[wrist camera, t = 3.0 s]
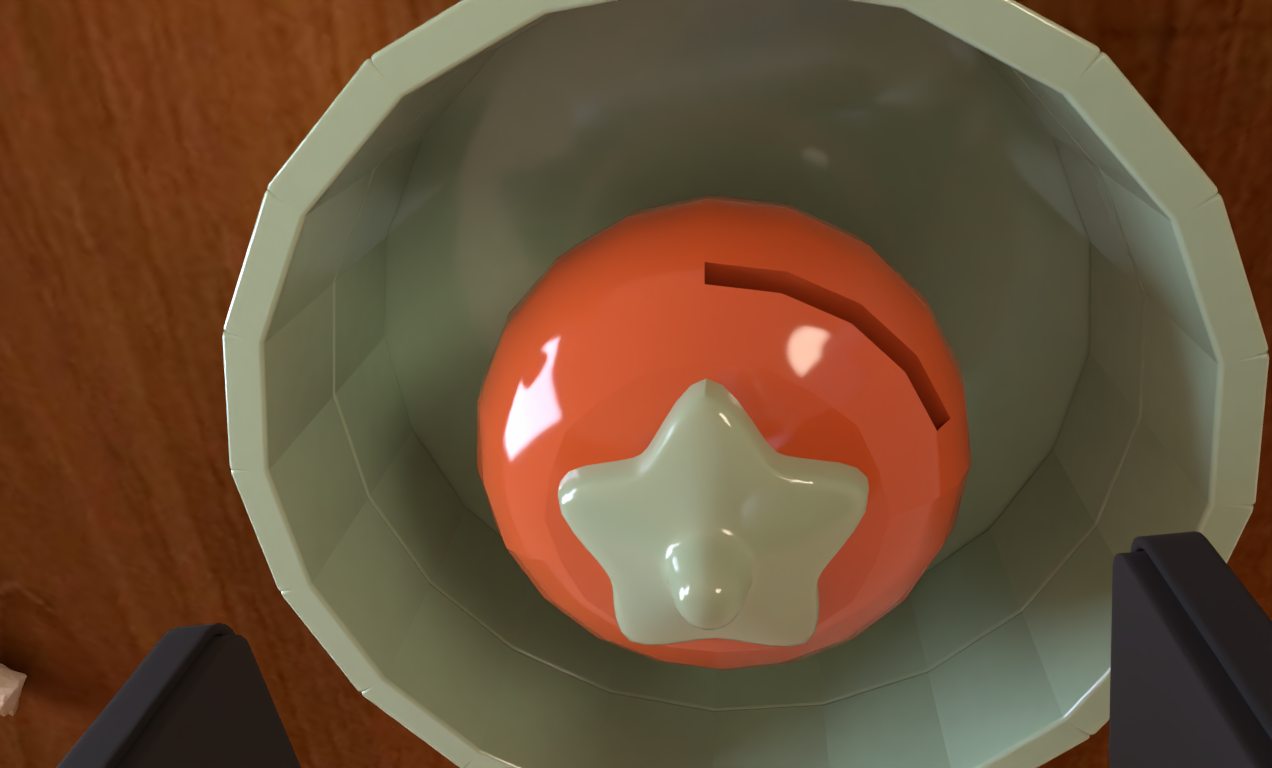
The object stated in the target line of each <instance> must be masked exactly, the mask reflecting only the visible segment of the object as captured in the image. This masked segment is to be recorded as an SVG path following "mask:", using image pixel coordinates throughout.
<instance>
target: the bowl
mask: <svg viewBox="0 0 1272 768" xmlns="http://www.w3.org/2000/svg"><path fill="white" fill-rule="evenodd" d="M267 188H268V189H267V190H266V192H265V194H264V197H263V200H262V203H261V207H260V210H259V213H258V216H257V220H256V223H255V226H254V229H253V233H252V236H251V239H250V242H249V246H248V249H247V252H246V256H245V259H244V262H243V265H242V269H241V272H240V275H239V278H238V282H237V285H236V288H235V291H234V295H233V298H232V301H231V304H230V308H229V311H228V314H227V317H226V321H225V324H224V332H223V335H222V338H223V355H224V373H225V391H226V408H227V426H228V443H229V461H230V468H231V469H232V471H231V473H232V476H233V478H234V481H235V483H236V486H237V488H238V491H239V493H240V496H241V498H242V501H243V503H244V506H245V508H246V511H247V513H248V516H249V518H250V521H251V523H252V526H253V528H254V531H255V533H256V536H257V538H258V541H259V543H260V546H261V548H262V551H263V553H264V556H265V558H266V561H267V563H268V565H269V568H270V570H271V573H272V575H273V578H274V580H275V583H276V585H277V588H278V590H279V591H282V592H281V594H282V596H283V597H284V598H285V600H286V601H287V602H288V604H289V605H290V606H291V607H292V609H293V610H294V611H295V612H296V614H297V615H298V616H299V617H300V619H301V620H302V621H303V622H304V624H305V625H306V626H307V627H308V629H309V630H310V631H311V632H312V634H313V635H314V636H315V637H316V639H317V640H318V641H319V642H320V644H321V645H322V646H323V647H324V649H325V650H326V651H327V653H328V654H329V655H330V656H331V658H332V659H333V660H334V661H335V663H336V664H337V665H338V666H339V668H340V669H341V670H342V671H343V673H344V674H345V675H346V676H347V678H348V679H349V680H350V681H351V683H352V684H353V685H354V686H355V688H356V689H357V690H358V691H360V692H362V695H363V696H364V697H365V698H367V699H368V700H370V701H371V702H372V703H374V704H375V705H376V706H378V707H379V708H380V709H382V710H383V711H384V712H386V713H387V714H388V715H390V716H391V717H392V718H394V719H395V720H396V721H398V722H399V723H400V724H402V725H403V726H404V727H406V728H407V729H408V730H410V731H411V732H412V733H414V734H415V735H416V736H418V737H419V738H421V739H422V740H423V741H425V742H426V743H427V744H429V745H430V746H431V747H433V748H434V749H435V750H437V751H438V752H439V753H441V754H442V755H443V756H445V757H446V758H447V759H449V760H450V761H451V762H453V763H454V764H455V765H457V766H458V767H459V768H1037V767H1039V766H1041V765H1043V764H1045V763H1046V762H1048V761H1050V760H1052V759H1053V758H1055V757H1057V756H1059V755H1061V754H1062V753H1064V752H1066V751H1068V750H1069V749H1071V748H1073V747H1075V746H1077V745H1078V744H1080V743H1082V742H1084V741H1085V740H1087V739H1088V738H1089V737H1090V735H1093V734H1095V733H1096V732H1097V731H1098V730H1099V729H1100V728H1101V727H1102V726H1103V725H1104V724H1105V723H1106V722H1107V721H1108V720H1109V718H1110V671H1111V623H1112V576H1113V560H1114V557H1115V555H1116V554H1118V553H1128V552H1131V545H1132V543H1133V540H1134V539H1135V538H1136V537H1139V536H1150V535H1160V534H1171V533H1181V532H1192V531H1197V532H1200V533H1202V534H1203V535H1204V536H1205V537H1206V538H1207V539H1208V540H1209V542H1210V543H1211V544H1212V546H1213V547H1214V548H1215V549H1216V551H1217V552H1218V553H1219V555H1220V556H1221V557H1222V558H1223V560H1224V561H1225V562H1226V564H1227V562H1228V560H1229V558H1230V556H1231V554H1232V552H1233V550H1234V548H1235V546H1236V544H1237V542H1238V540H1239V538H1240V536H1241V534H1242V532H1243V530H1244V528H1245V526H1246V524H1247V522H1248V520H1249V518H1250V516H1251V514H1252V512H1253V504H1255V502H1256V493H1257V482H1258V472H1259V461H1260V450H1261V440H1262V429H1263V418H1264V408H1265V397H1266V387H1267V376H1268V365H1269V355H1268V352H1267V351H1268V344H1267V341H1266V337H1265V334H1264V331H1263V328H1262V324H1261V321H1260V318H1259V315H1258V311H1257V308H1256V305H1255V302H1254V298H1253V295H1252V292H1251V289H1250V285H1249V282H1248V279H1247V276H1246V272H1245V269H1244V266H1243V263H1242V259H1241V256H1240V253H1239V250H1238V246H1237V243H1236V240H1235V237H1234V233H1233V230H1232V227H1231V224H1230V220H1229V217H1228V214H1227V211H1226V207H1225V204H1224V201H1223V198H1222V196H1221V195H1220V194H1219V193H1218V190H1217V186H1216V185H1215V184H1214V182H1213V181H1212V180H1211V179H1210V178H1209V176H1208V175H1207V174H1206V173H1205V172H1204V170H1203V169H1202V168H1201V167H1200V166H1199V164H1198V163H1197V162H1196V161H1195V160H1194V158H1193V157H1192V156H1191V155H1190V154H1189V152H1188V151H1187V150H1186V149H1185V148H1184V146H1183V145H1182V144H1181V143H1180V142H1179V140H1178V139H1177V138H1176V137H1175V135H1174V134H1173V133H1172V132H1171V131H1170V129H1169V128H1168V127H1167V126H1166V125H1165V123H1164V122H1163V121H1162V120H1161V119H1160V117H1159V116H1158V115H1157V114H1156V113H1155V111H1154V110H1153V109H1152V108H1151V107H1150V105H1149V104H1148V103H1147V102H1146V101H1145V99H1144V98H1143V97H1142V96H1141V94H1140V93H1139V92H1138V91H1137V90H1136V88H1135V87H1134V86H1133V85H1132V84H1131V82H1130V81H1129V80H1128V79H1127V78H1126V76H1125V75H1124V74H1123V73H1122V72H1121V70H1120V69H1119V68H1118V67H1117V66H1116V64H1115V63H1114V62H1113V61H1112V60H1111V58H1110V57H1109V56H1108V55H1107V54H1106V53H1104V52H1101V51H1100V49H1099V47H1098V46H1097V45H1095V44H1093V43H1091V42H1089V41H1087V40H1086V39H1084V38H1082V37H1080V36H1078V35H1077V34H1075V33H1073V32H1071V31H1069V30H1068V29H1066V28H1064V27H1062V26H1060V25H1058V24H1057V23H1055V22H1053V21H1051V20H1049V19H1048V18H1046V17H1044V16H1042V15H1040V14H1038V13H1037V12H1035V11H1033V10H1031V9H1029V8H1028V7H1026V6H1024V5H1022V4H1020V3H1019V2H1017V1H1015V0H461V1H459V2H458V3H456V4H454V5H453V6H451V7H449V8H448V9H446V10H444V11H443V12H441V13H440V14H438V15H436V16H435V17H433V18H431V19H430V20H428V21H426V22H425V23H423V24H421V25H420V26H418V27H416V28H415V29H413V30H412V31H410V32H408V33H407V34H405V35H403V36H402V37H400V38H398V39H397V40H395V41H393V42H392V43H390V44H388V45H387V46H385V47H384V48H382V49H380V50H379V51H377V52H375V53H374V54H373V55H372V57H371V58H369V59H367V60H365V61H364V63H363V64H362V65H361V66H360V68H359V69H358V70H357V72H356V73H355V74H354V75H353V77H352V78H351V79H350V81H349V82H348V83H347V84H346V86H345V87H344V88H343V89H342V91H341V92H340V93H339V95H338V96H337V97H336V98H335V100H334V101H333V102H332V104H331V105H330V106H329V107H328V109H327V110H326V111H325V112H324V114H323V115H322V116H321V118H320V119H319V120H318V121H317V123H316V124H315V125H314V127H313V128H312V129H311V130H310V132H309V133H308V134H307V135H306V137H305V138H304V139H303V141H302V142H301V143H300V144H299V146H298V147H297V148H296V150H295V151H294V152H293V153H292V155H291V156H290V157H289V158H288V160H287V161H286V162H285V164H284V165H283V166H282V167H281V169H280V170H279V171H278V173H277V174H276V175H275V176H274V178H273V179H272V180H271V182H270V183H269V184H268V187H267ZM710 194H711V195H720V196H729V197H738V198H746V199H755V200H764V201H773V202H782V203H788V204H790V205H792V206H794V207H797V208H799V209H801V210H803V211H806V212H808V213H810V214H812V215H815V216H817V217H819V218H822V219H824V220H826V221H828V222H831V223H833V224H835V225H837V226H840V227H842V228H844V229H846V230H849V231H851V232H853V233H855V234H857V235H858V236H859V237H860V238H861V239H862V240H863V241H864V242H866V243H867V244H868V245H869V246H870V247H871V248H872V249H873V250H874V251H875V252H877V253H878V254H879V255H880V256H881V257H882V258H883V259H884V260H885V261H886V262H887V263H888V264H889V265H890V266H892V267H893V268H894V269H895V270H896V271H897V272H898V273H899V274H900V275H901V276H902V277H903V278H904V279H905V280H906V281H908V282H909V283H910V284H911V285H912V286H913V287H914V288H915V289H916V290H917V291H918V292H919V293H920V294H921V295H923V296H924V297H925V298H926V299H927V301H928V303H929V305H930V307H931V309H932V311H933V313H934V314H935V316H936V318H937V320H938V322H939V324H940V326H941V328H942V330H943V332H944V334H945V336H946V338H947V340H948V341H949V343H950V345H951V347H952V349H953V351H954V353H955V355H956V357H957V359H958V361H959V363H960V365H961V369H962V377H963V385H964V393H965V403H966V413H967V422H968V432H969V442H970V452H971V461H972V462H971V466H970V470H969V474H968V477H967V481H966V485H965V489H964V493H963V496H962V500H961V504H960V508H959V512H958V515H957V519H956V523H955V527H954V529H953V531H952V532H951V534H950V535H949V537H948V538H947V540H946V541H945V543H944V545H943V546H942V548H941V549H940V550H939V552H938V553H937V555H936V556H935V558H934V559H933V560H932V562H931V563H930V565H929V566H928V567H927V569H926V570H925V572H924V573H923V575H922V576H921V577H920V579H919V580H918V582H917V583H916V584H915V586H914V587H913V589H912V590H911V592H910V593H909V594H908V596H907V597H906V599H905V600H904V601H903V602H901V603H900V604H899V605H897V606H896V607H895V608H893V609H892V610H891V611H889V612H888V613H887V614H885V615H884V616H883V617H881V618H880V619H879V620H878V621H876V622H875V623H874V624H872V625H871V626H870V627H868V628H867V629H866V630H864V631H863V632H862V633H860V634H859V635H858V636H856V637H855V638H854V639H853V640H850V641H847V642H845V643H842V644H839V645H837V646H834V647H831V648H829V649H826V650H823V651H821V652H818V653H816V654H813V655H810V656H808V657H805V658H802V659H800V660H797V661H794V662H792V663H787V664H778V665H769V666H760V667H751V668H742V669H733V670H725V671H723V670H716V669H709V668H702V667H694V666H687V665H680V664H673V663H666V662H659V661H655V660H653V659H650V658H648V657H645V656H643V655H640V654H638V653H635V652H633V651H630V650H628V649H625V648H623V647H620V646H618V645H615V644H613V643H610V642H607V641H605V640H602V639H600V638H597V637H595V636H594V635H593V634H591V633H590V632H589V631H587V630H586V629H585V628H583V627H582V626H581V625H579V624H578V623H577V622H575V621H574V620H573V619H571V618H570V617H569V616H567V615H566V614H565V613H563V612H562V611H561V610H560V609H558V608H557V607H556V606H554V605H553V604H552V603H550V602H549V601H548V600H546V599H545V598H544V597H543V596H542V594H541V593H540V592H539V590H538V589H537V588H536V586H535V585H534V584H533V582H532V581H531V580H530V579H529V577H528V576H527V575H526V573H525V572H524V571H523V569H522V568H521V567H520V565H519V564H518V563H517V561H516V560H515V559H514V557H513V556H512V555H511V554H510V552H509V551H508V550H507V548H506V546H505V544H504V542H503V540H502V538H501V536H500V533H499V531H498V529H497V526H496V523H495V520H494V517H493V514H492V511H491V508H490V505H489V502H488V499H487V496H486V493H485V490H484V487H483V484H482V481H481V479H480V476H479V473H478V470H477V403H478V398H479V394H480V390H481V385H482V381H483V377H484V375H485V372H486V370H487V367H488V365H489V362H490V359H491V357H492V354H493V352H494V349H495V347H496V344H497V342H498V339H499V336H500V334H501V331H502V329H503V326H504V324H505V321H506V319H507V316H508V314H509V312H510V311H511V310H512V309H513V307H514V306H515V305H516V304H517V303H518V302H519V301H520V299H521V298H522V297H523V296H524V295H525V294H526V293H527V291H528V290H529V289H530V288H531V287H532V286H533V284H534V283H535V282H536V281H537V280H538V279H539V278H540V276H541V275H542V274H543V273H544V272H545V271H546V269H547V268H548V267H549V266H550V265H551V264H552V263H553V261H554V260H555V259H556V258H557V257H558V256H560V255H561V254H562V253H564V252H565V251H567V250H568V249H570V248H571V247H572V246H574V245H575V244H577V243H579V242H581V241H582V240H584V239H586V238H588V237H590V236H591V235H593V234H595V233H597V232H598V231H600V230H602V229H604V228H605V227H607V226H609V225H611V224H613V223H614V222H616V221H618V220H620V219H621V218H623V217H625V216H627V215H628V214H630V213H632V212H634V211H636V210H638V209H643V208H648V207H653V206H657V205H662V204H667V203H672V202H677V201H681V200H686V199H691V198H696V197H701V196H705V195H710Z"/></svg>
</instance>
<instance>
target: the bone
mask: <svg viewBox="0 0 1272 768" xmlns="http://www.w3.org/2000/svg"><path fill="white" fill-rule="evenodd" d="M26 678H27V675H26V674H24V673H20V672H16V671H14V670H11V669H9V668H8V667H6V666H5V665H3V664H1V663H0V715H2V716H6V715H7V714H10V715H13V716H14V714H15V712H16V711H17V709H18V708H19V697H20V696H21V692H22V687H23V685H24V682H25V680H26Z"/></svg>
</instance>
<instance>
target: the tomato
mask: <svg viewBox="0 0 1272 768" xmlns="http://www.w3.org/2000/svg"><path fill="white" fill-rule="evenodd" d="M971 462H972V461H971V452H970V442H969V432H968V422H967V413H966V403H965V393H964V385H963V377H962V369H961V365H960V363H959V361H958V359H957V357H956V355H955V353H954V351H953V349H952V347H951V345H950V343H949V341H948V340H947V338H946V336H945V334H944V332H943V330H942V328H941V326H940V324H939V322H938V320H937V318H936V316H935V314H934V313H933V311H932V309H931V307H930V305H929V303H928V301H927V299H926V298H925V297H924V296H923V295H921V294H920V293H919V292H918V291H917V290H916V289H915V288H914V287H913V286H912V285H911V284H910V283H909V282H908V281H906V280H905V279H904V278H903V277H902V276H901V275H900V274H899V273H898V272H897V271H896V270H895V269H894V268H893V267H892V266H890V265H889V264H888V263H887V262H886V261H885V260H884V259H883V258H882V257H881V256H880V255H879V254H878V253H877V252H875V251H874V250H873V249H872V248H871V247H870V246H869V245H868V244H867V243H866V242H864V241H863V240H862V239H861V238H860V237H859V236H858V235H857V234H855V233H853V232H851V231H849V230H846V229H844V228H842V227H840V226H837V225H835V224H833V223H831V222H828V221H826V220H824V219H822V218H819V217H817V216H815V215H812V214H810V213H808V212H806V211H803V210H801V209H799V208H797V207H794V206H792V205H790V204H788V203H782V202H773V201H764V200H755V199H746V198H738V197H729V196H720V195H711V194H710V195H705V196H701V197H696V198H691V199H686V200H681V201H677V202H672V203H667V204H662V205H657V206H653V207H648V208H643V209H638V210H636V211H634V212H632V213H630V214H628V215H627V216H625V217H623V218H621V219H620V220H618V221H616V222H614V223H613V224H611V225H609V226H607V227H605V228H604V229H602V230H600V231H598V232H597V233H595V234H593V235H591V236H590V237H588V238H586V239H584V240H582V241H581V242H579V243H577V244H575V245H574V246H572V247H571V248H570V249H568V250H567V251H565V252H564V253H562V254H561V255H560V256H558V257H557V258H556V259H555V260H554V261H553V263H552V264H551V265H550V266H549V267H548V268H547V269H546V271H545V272H544V273H543V274H542V275H541V276H540V278H539V279H538V280H537V281H536V282H535V283H534V284H533V286H532V287H531V288H530V289H529V290H528V291H527V293H526V294H525V295H524V296H523V297H522V298H521V299H520V301H519V302H518V303H517V304H516V305H515V306H514V307H513V309H512V310H511V311H510V312H509V314H508V316H507V319H506V321H505V324H504V326H503V329H502V331H501V334H500V336H499V339H498V342H497V344H496V347H495V349H494V352H493V354H492V357H491V359H490V362H489V365H488V367H487V370H486V372H485V375H484V377H483V381H482V385H481V390H480V394H479V398H478V403H477V470H478V473H479V476H480V479H481V481H482V484H483V487H484V490H485V493H486V496H487V499H488V502H489V505H490V508H491V511H492V514H493V517H494V520H495V523H496V526H497V529H498V531H499V533H500V536H501V538H502V540H503V542H504V544H505V546H506V548H507V550H508V551H509V552H510V554H511V555H512V556H513V557H514V559H515V560H516V561H517V563H518V564H519V565H520V567H521V568H522V569H523V571H524V572H525V573H526V575H527V576H528V577H529V579H530V580H531V581H532V582H533V584H534V585H535V586H536V588H537V589H538V590H539V592H540V593H541V594H542V596H543V597H544V598H545V599H546V600H548V601H549V602H550V603H552V604H553V605H554V606H556V607H557V608H558V609H560V610H561V611H562V612H563V613H565V614H566V615H567V616H569V617H570V618H571V619H573V620H574V621H575V622H577V623H578V624H579V625H581V626H582V627H583V628H585V629H586V630H587V631H589V632H590V633H591V634H593V635H594V636H595V637H597V638H600V639H602V640H605V641H607V642H610V643H613V644H615V645H618V646H620V647H623V648H625V649H628V650H630V651H633V652H635V653H638V654H640V655H643V656H645V657H648V658H650V659H653V660H655V661H659V662H666V663H673V664H680V665H687V666H694V667H702V668H709V669H716V670H723V671H725V670H733V669H742V668H751V667H760V666H769V665H778V664H787V663H792V662H794V661H797V660H800V659H802V658H805V657H808V656H810V655H813V654H816V653H818V652H821V651H823V650H826V649H829V648H831V647H834V646H837V645H839V644H842V643H845V642H847V641H850V640H853V639H854V638H855V637H856V636H858V635H859V634H860V633H862V632H863V631H864V630H866V629H867V628H868V627H870V626H871V625H872V624H874V623H875V622H876V621H878V620H879V619H880V618H881V617H883V616H884V615H885V614H887V613H888V612H889V611H891V610H892V609H893V608H895V607H896V606H897V605H899V604H900V603H901V602H903V601H904V600H905V599H906V597H907V596H908V594H909V593H910V592H911V590H912V589H913V587H914V586H915V584H916V583H917V582H918V580H919V579H920V577H921V576H922V575H923V573H924V572H925V570H926V569H927V567H928V566H929V565H930V563H931V562H932V560H933V559H934V558H935V556H936V555H937V553H938V552H939V550H940V549H941V548H942V546H943V545H944V543H945V541H946V540H947V538H948V537H949V535H950V534H951V532H952V531H953V529H954V527H955V523H956V519H957V515H958V512H959V508H960V504H961V500H962V496H963V493H964V489H965V485H966V481H967V477H968V474H969V470H970V466H971Z"/></svg>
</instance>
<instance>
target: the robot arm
mask: <svg viewBox="0 0 1272 768" xmlns="http://www.w3.org/2000/svg"><path fill="white" fill-rule="evenodd" d="M1109 764H1110V768H1272V621H1271V620H1270V619H1269V617H1268V616H1267V615H1266V613H1265V612H1264V611H1263V610H1262V608H1261V607H1260V606H1259V605H1258V603H1257V602H1256V601H1255V599H1254V598H1253V597H1252V596H1251V594H1250V593H1249V592H1248V590H1247V589H1246V588H1245V587H1244V585H1243V584H1242V583H1241V581H1240V580H1239V579H1238V578H1237V576H1236V575H1235V574H1234V572H1233V571H1232V570H1231V569H1230V567H1229V566H1228V565H1227V564H1226V562H1225V561H1224V560H1223V558H1222V557H1221V556H1220V555H1219V553H1218V552H1217V551H1216V549H1215V548H1214V547H1213V546H1212V544H1211V543H1210V542H1209V540H1208V539H1207V538H1206V537H1205V536H1204V535H1203V534H1202V533H1200V532H1197V531H1192V532H1181V533H1171V534H1160V535H1150V536H1139V537H1136V538H1135V539H1134V540H1133V543H1132V545H1131V552H1128V553H1118V554H1116V555H1115V557H1114V560H1113V576H1112V623H1111V671H1110V718H1109ZM57 768H301V767H300V764H299V762H298V760H297V757H296V755H295V753H294V750H293V748H292V745H291V743H290V741H289V738H288V736H287V734H286V731H285V729H284V726H283V724H282V722H281V719H280V717H279V715H278V712H277V710H276V707H275V705H274V703H273V700H272V698H271V696H270V693H269V691H268V689H267V686H266V684H265V681H264V679H263V677H262V674H261V672H260V670H259V667H258V665H257V662H256V660H255V658H254V655H253V653H252V651H251V648H250V646H249V644H248V642H247V640H246V639H245V638H244V637H242V636H241V635H235V633H234V632H233V630H232V629H231V628H230V627H229V626H227V625H226V624H221V623H217V624H207V625H196V626H185V627H177V628H174V629H171V630H169V631H168V632H167V633H166V634H165V635H163V637H162V638H161V639H160V640H159V642H158V643H157V644H156V645H155V646H154V648H153V649H152V650H151V651H150V653H149V654H148V655H147V656H146V658H145V659H144V660H143V661H142V663H141V664H140V665H139V666H138V668H137V669H136V670H135V671H134V672H133V674H132V675H131V676H130V677H129V679H128V680H127V681H126V682H125V684H124V685H123V686H122V687H121V689H120V690H119V691H118V692H117V693H116V695H115V696H114V697H113V698H112V700H111V701H110V702H109V703H108V705H107V706H106V707H105V708H104V710H103V711H102V712H101V713H100V715H99V716H98V717H97V718H96V719H95V721H94V722H93V723H92V724H91V726H90V727H89V728H88V729H87V731H86V732H85V733H84V734H83V736H82V737H81V738H80V739H79V740H78V742H77V743H76V744H75V745H74V747H73V748H72V749H71V750H70V752H69V753H68V754H67V755H66V757H65V758H64V759H63V760H62V762H61V763H60V764H59V765H58V766H57Z"/></svg>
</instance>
